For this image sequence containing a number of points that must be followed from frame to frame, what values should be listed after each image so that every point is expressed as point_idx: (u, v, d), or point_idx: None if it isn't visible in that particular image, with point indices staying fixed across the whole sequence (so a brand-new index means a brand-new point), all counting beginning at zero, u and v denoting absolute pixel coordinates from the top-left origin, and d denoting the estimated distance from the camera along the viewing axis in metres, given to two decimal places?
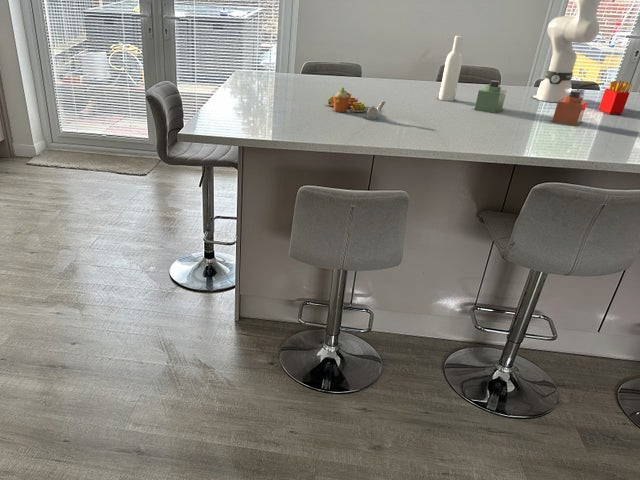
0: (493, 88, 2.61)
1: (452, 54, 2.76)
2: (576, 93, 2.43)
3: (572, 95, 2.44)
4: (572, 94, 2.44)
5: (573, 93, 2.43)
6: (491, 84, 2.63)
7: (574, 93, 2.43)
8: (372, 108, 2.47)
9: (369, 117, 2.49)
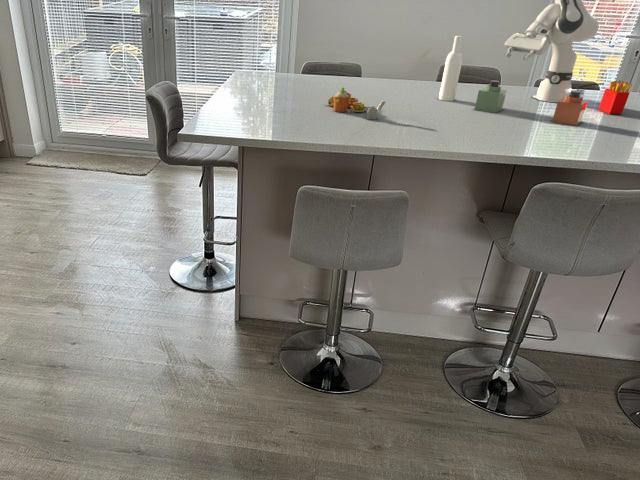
0: (493, 88, 2.61)
1: (452, 54, 2.76)
2: (576, 93, 2.43)
3: (572, 95, 2.44)
4: (572, 94, 2.44)
5: (573, 93, 2.43)
6: (491, 84, 2.63)
7: (574, 93, 2.43)
8: (372, 108, 2.47)
9: (369, 117, 2.49)
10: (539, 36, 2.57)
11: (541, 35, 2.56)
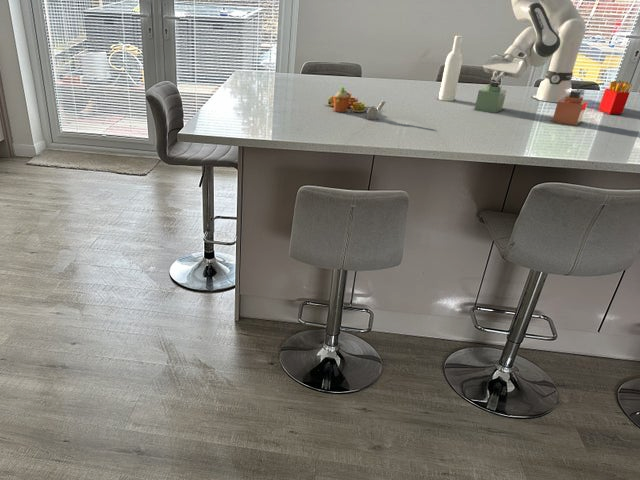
0: (493, 88, 2.61)
1: (452, 54, 2.76)
2: (576, 93, 2.43)
3: (572, 95, 2.44)
4: (572, 94, 2.44)
5: (573, 93, 2.43)
6: (491, 85, 2.63)
7: (574, 93, 2.43)
8: (372, 108, 2.47)
9: (369, 117, 2.49)
10: (517, 59, 2.56)
11: (518, 58, 2.56)
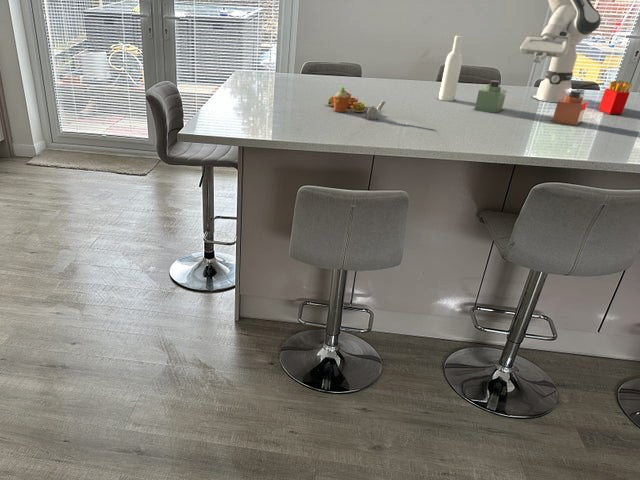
0: (493, 88, 2.61)
1: (452, 54, 2.76)
2: (576, 93, 2.43)
3: (572, 95, 2.44)
4: (572, 94, 2.44)
5: (573, 93, 2.43)
6: (491, 84, 2.63)
7: (574, 93, 2.43)
8: (372, 108, 2.47)
9: (369, 117, 2.49)
10: (559, 39, 2.52)
11: (561, 38, 2.52)
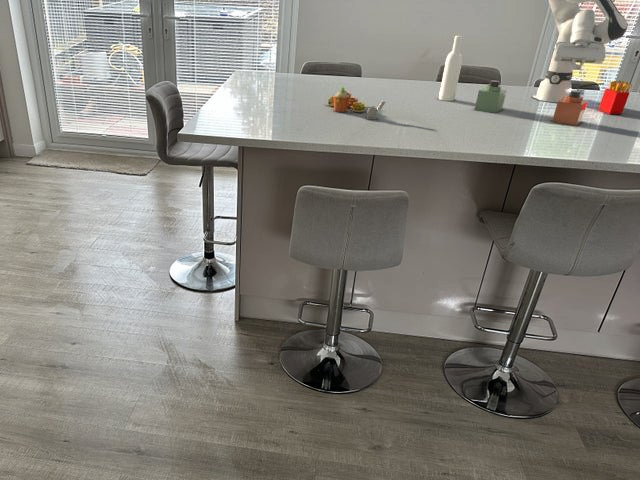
0: (493, 88, 2.61)
1: (452, 54, 2.76)
2: (576, 93, 2.43)
3: (572, 95, 2.44)
4: (572, 94, 2.44)
5: (573, 93, 2.43)
6: (491, 84, 2.63)
7: (574, 93, 2.43)
8: (372, 108, 2.47)
9: (369, 117, 2.49)
10: (595, 45, 2.46)
11: (596, 43, 2.46)
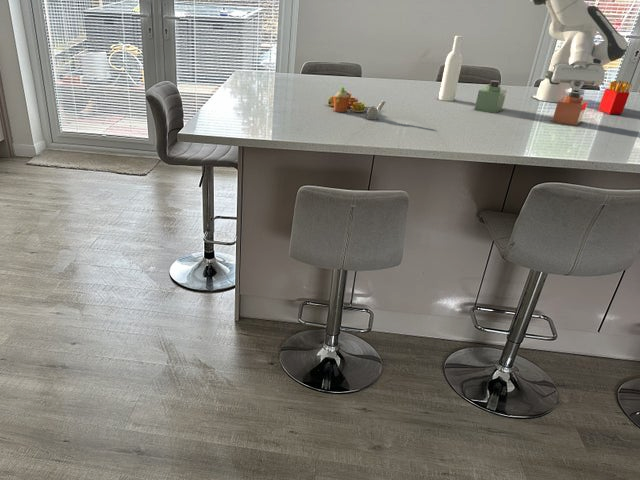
0: (493, 88, 2.61)
1: (452, 54, 2.76)
2: (576, 94, 2.43)
3: (572, 96, 2.44)
4: (572, 95, 2.44)
5: (573, 94, 2.44)
6: (491, 84, 2.63)
7: (573, 94, 2.43)
8: (372, 108, 2.47)
9: (369, 117, 2.49)
10: (594, 66, 2.42)
11: (595, 65, 2.42)
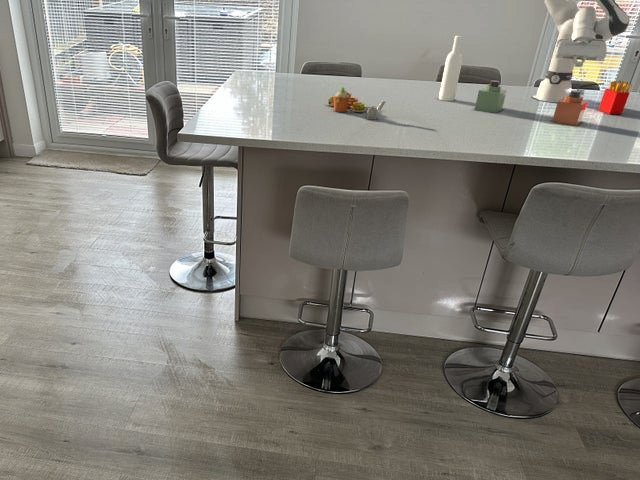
0: (493, 88, 2.61)
1: (452, 54, 2.76)
2: (576, 93, 2.43)
3: (572, 95, 2.44)
4: (572, 94, 2.44)
5: (573, 93, 2.43)
6: (491, 84, 2.63)
7: (574, 93, 2.43)
8: (372, 108, 2.47)
9: (369, 117, 2.49)
10: (596, 42, 2.48)
11: (597, 41, 2.47)
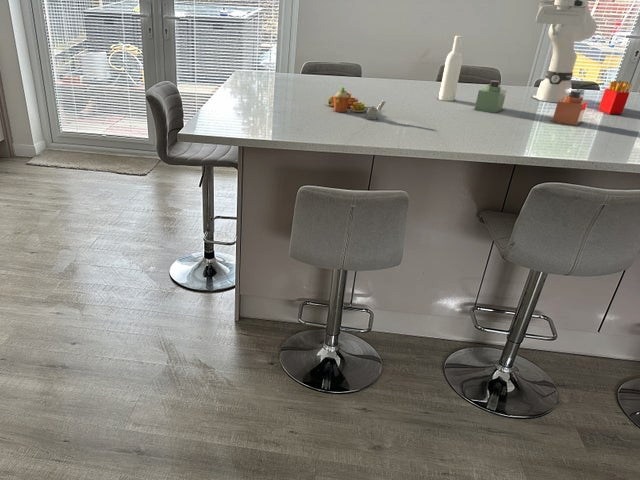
0: (493, 88, 2.61)
1: (452, 54, 2.76)
2: (576, 93, 2.43)
3: (572, 95, 2.44)
4: (572, 94, 2.44)
5: (573, 93, 2.43)
6: (491, 84, 2.63)
7: (574, 93, 2.43)
8: (372, 108, 2.47)
9: (369, 117, 2.49)
10: (575, 9, 2.43)
11: (576, 8, 2.42)
